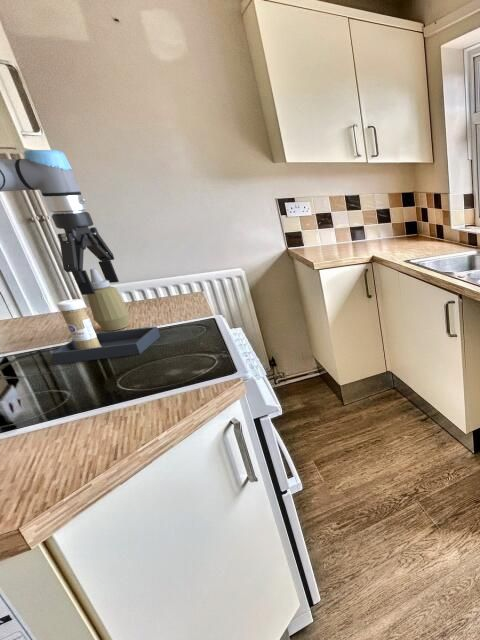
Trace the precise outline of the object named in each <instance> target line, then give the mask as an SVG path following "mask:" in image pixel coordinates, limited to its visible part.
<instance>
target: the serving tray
mask: <svg viewBox="0 0 480 640" xmlns="http://www.w3.org/2000/svg"><path fill="white" fill-rule="evenodd" d="M95 333H96V336H97V339H98V341H99V343H100V345H101V347H97V348H89V349H80V350H78V348H77V346H76V344H75V342H74V340H73V339H72V340H71V341H69V342H67V343H66V344H64V345H63V346H61V347H59V348H58V349H56V350H55V351H53V352H51V353H50V354H51V357H52V359H53V361H54V363H55V365H64V364H73V363H80V362H88V361H89V362H90V361H96V360H97V361H98V360H104V359H111V358H120V357H129V356H136V355H141V354H142V353H144V351H145V350H147V349H148V348H149V347H150V346H151V345H152V344H154V343H155V342H156V341H157V340H158V339H159V338H160V337H161V333H160V330H159V329H158V326H152V327H141V328H132V329H120V330H111V331H103V332H95Z"/></svg>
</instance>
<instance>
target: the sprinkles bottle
mask: <svg viewBox="0 0 480 640" xmlns="http://www.w3.org/2000/svg"><path fill="white" fill-rule="evenodd" d="M56 305H57V308H58V311H60V313H61V314H62V317H63V318H64V321H65V323H66V325H67V328H68V331H69V333H70V336H71V338H72V340H74V342H75V344H76V346H77V348H78V350H80V349H89V348H97V347H101V345H100V343H99V341H98V339H97V336H96V333H97V332H96V331H95V329H94V326H93V324H92V322H91V319H90V317H89V316H88V314H87V311H86V307H85V303H84V302H83V300H82V299H80V298H73V299H67V300H61V301H58V302H57V303H56Z"/></svg>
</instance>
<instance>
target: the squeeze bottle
mask: <svg viewBox="0 0 480 640" xmlns="http://www.w3.org/2000/svg"><path fill="white" fill-rule="evenodd" d="M89 274H90V282H91V284H92V286H93V289H94V291H95V294H87V295H86V296H87V300H88V304H89V307H90V311H91V315H92V318H93V321H94V322H95V323H96V324H97V325H99V326H100V328H101V329H102V330H103V331H104V332H112V331H119V330H123V329H124V328H127V327H129V326H130V316H131V315H130V313H131V312H129V309H128V308H127V305H126V304H125V302H124V300H123V299H122V296H121V295H120V293H119V291H118V289H117V288H116V287H114V286H111V283H109V280H106V279H104V278H103V277H102V276H101V274H100V273H99V272H98V270H97V269H96V268H91V269H89Z"/></svg>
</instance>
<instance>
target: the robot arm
mask: <svg viewBox="0 0 480 640" xmlns="http://www.w3.org/2000/svg"><path fill="white" fill-rule="evenodd" d="M23 155H24V158H17V159H16V158H11V159H10V158H0V193H2V192H16V191H17V192H18V191H37V190H38V191H40V193H41V196H42V198H43V200H44V203H45V205H46V207H47V210H48V212H50V213H52V214H51V219H52V221H53V223H54V225H55V228H57V229H59V230H64V232H63V233H58V234H57V238H58V241H59V245H60V253H61V261H62V268H63V271H65V272H66V273H72V276H73V278H74V280H75V283H76V284H77V287H78V289H79V292H80V294H81V295H82V296H83V295H84V296H87V294H95V291H94V289H93V286H92V284H91V278H90V277H89V275H88V272H87V270H86V269H84V253H85V250H86V249H88V251H90V253H92V254H93V255H94V256H95V257H96V258H97V259H98V260H99V261H98V265H99V267H100V270H101V272H102V275H103V277H104V280H109V283H110V284H111V283H112V284H113V283H119V282H120V280H119V278H118V276H117V273H116V270H115V268H114V265H113V263H112V261H114V260H115V257H114V254H113V252H112V251H111V249H110V248H109V247H108V245H107V243H106V242H105V241H104V239H103V238H102V236H101V235H100V234H99V231H98V229H97V227H95V226H94V221H93V218H92V216H91V214H90V212H89V211H87V210H88V207H87V205H86V202H87V200H86V199H85V198H84V197H83V194H82V192H81V189H80V187H79V185H78V182H77V179H76V176H75V174H74V171H73V168H72V167H71V165H70V162H69V160H68V158H67V156H66V154H65V153H64V152H63V151H61V150H58V149H26V150H24V151H23ZM92 226H93V227H92Z"/></svg>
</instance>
